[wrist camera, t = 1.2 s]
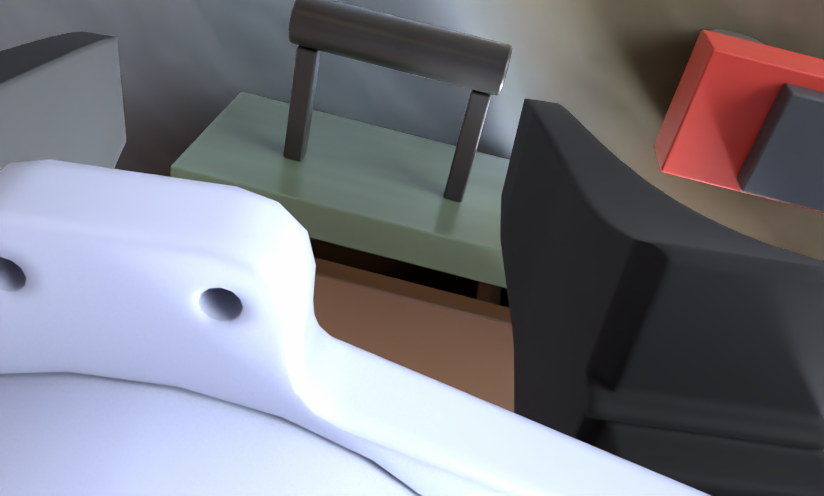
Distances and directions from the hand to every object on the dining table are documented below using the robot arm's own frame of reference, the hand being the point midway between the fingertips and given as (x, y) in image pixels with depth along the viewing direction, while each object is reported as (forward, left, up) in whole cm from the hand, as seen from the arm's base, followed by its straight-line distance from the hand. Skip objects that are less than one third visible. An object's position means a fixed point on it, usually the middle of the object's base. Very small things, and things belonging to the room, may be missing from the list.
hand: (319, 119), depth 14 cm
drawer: (-8, +4, -12) cm, 15 cm away
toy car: (-8, -10, -13) cm, 18 cm away
